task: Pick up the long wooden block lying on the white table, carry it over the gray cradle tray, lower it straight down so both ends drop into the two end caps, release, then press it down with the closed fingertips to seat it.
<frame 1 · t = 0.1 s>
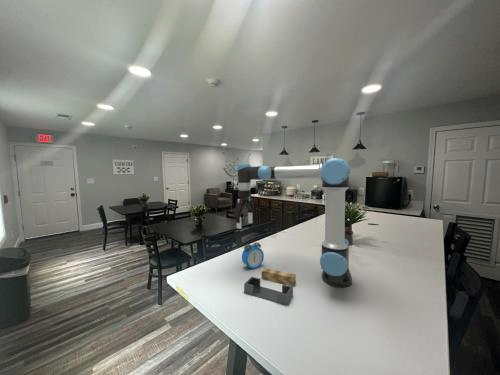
hand: (245, 225, 118), 28 cm above the table, fingers open, 13 cm apart
alarm clock: (253, 267, 126), on the table
long wooden block: (278, 281, 109), on the table
gray cradle tray: (268, 294, 96), on the table
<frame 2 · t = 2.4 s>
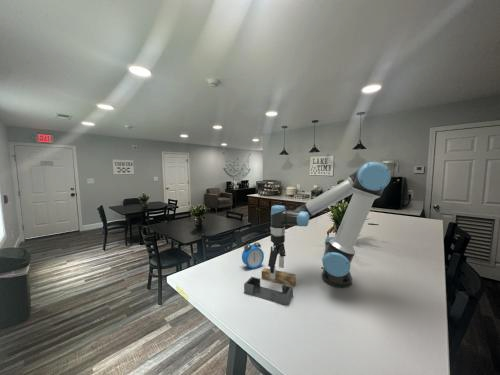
hand: (277, 272, 109), 4 cm above the table, fingers open, 13 cm apart
nothing on the table moved.
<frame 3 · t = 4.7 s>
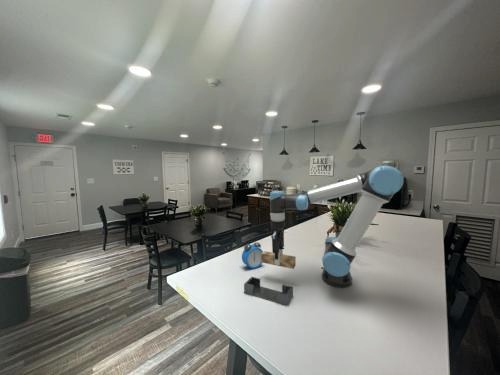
hand: (278, 262, 108), 10 cm above the table, fingers closed on long wooden block, 4 cm apart
long wooden block: (278, 264, 108), point 9 cm above the table, touching gripper
everything else where it was.
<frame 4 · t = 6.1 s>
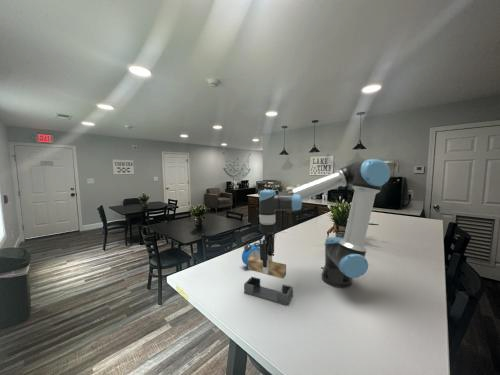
hand: (267, 270, 96), 12 cm above the table, fingers closed on long wooden block, 4 cm apart
long wooden block: (266, 272, 96), point 11 cm above the table, touching gripper
everything else where it was.
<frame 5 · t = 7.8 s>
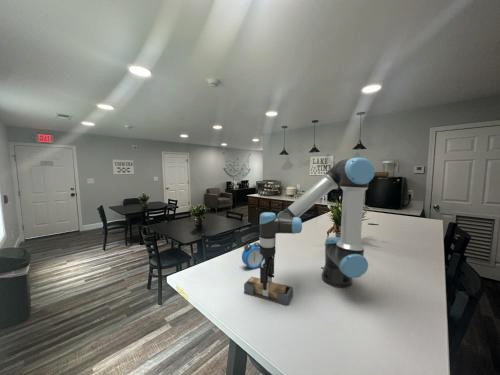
hand: (267, 292, 96), 1 cm above the table, fingers closed on long wooden block, gray cradle tray, 4 cm apart
long wooden block: (266, 293, 97), point 1 cm above the table, touching gripper, gray cradle tray
everything else where it was.
when the fingers open (1 cm above the table, at t = 8.7 s): long wooden block stays where it is, resting on gray cradle tray.
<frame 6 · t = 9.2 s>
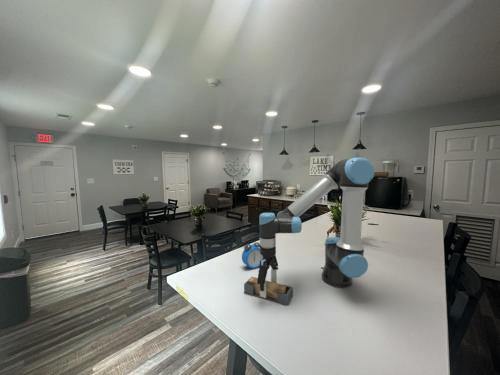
hand: (268, 289, 96), 3 cm above the table, fingers open, 13 cm apart
long wooden block: (266, 293, 97), point 1 cm above the table, touching gray cradle tray
everything else where it was.
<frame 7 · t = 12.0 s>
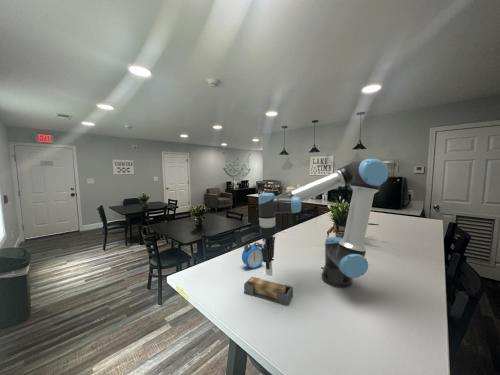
hand: (269, 274, 96), 10 cm above the table, fingers closed
nothing on the table moved.
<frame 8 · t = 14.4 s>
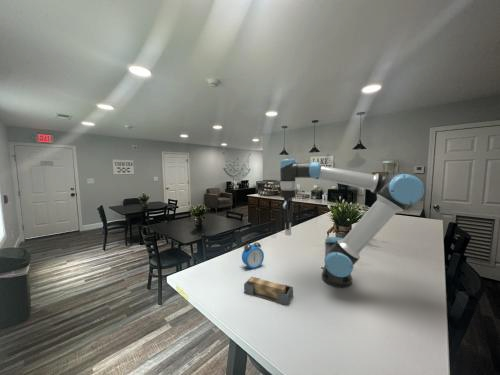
hand: (288, 235, 104), 26 cm above the table, fingers closed
nothing on the table moved.
at the end: long wooden block 0.7 cm off-centre on the gray cradle tray, point 0.6 cm above the gray cradle tray's base; long wooden block tilted 0°; the gripper is holding nothing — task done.
